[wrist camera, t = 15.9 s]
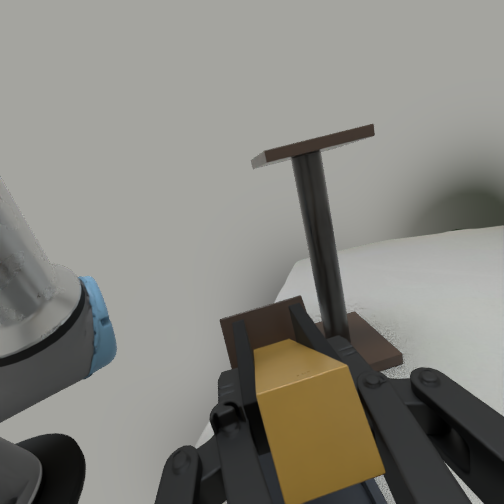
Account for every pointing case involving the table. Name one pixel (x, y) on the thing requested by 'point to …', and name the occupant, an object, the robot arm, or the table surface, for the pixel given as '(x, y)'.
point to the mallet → (305, 408)
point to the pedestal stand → (329, 244)
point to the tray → (346, 500)
